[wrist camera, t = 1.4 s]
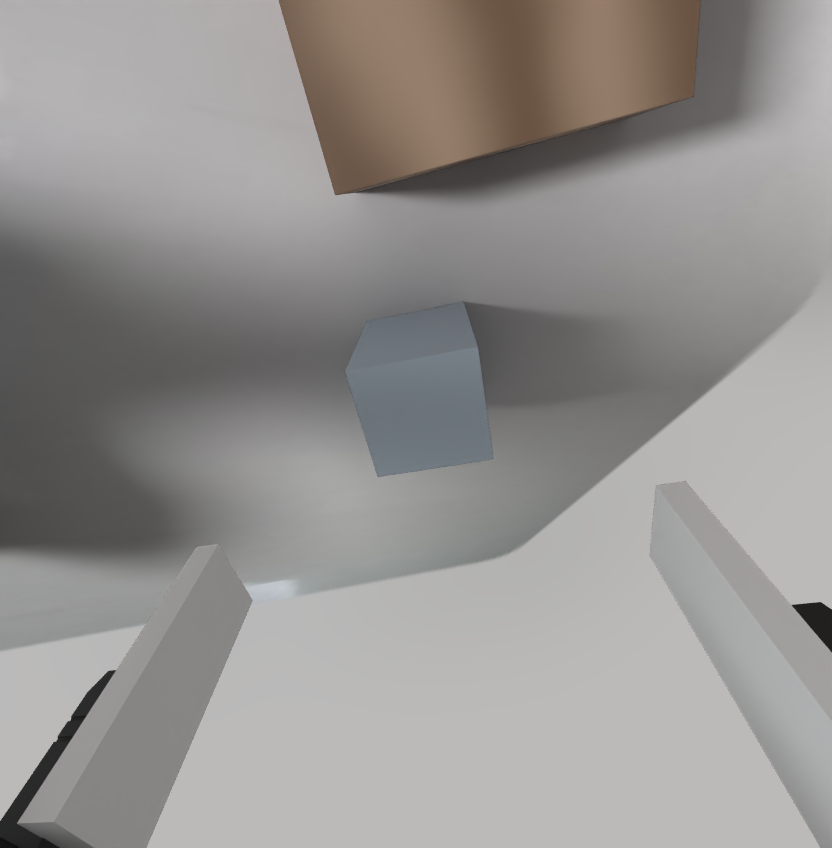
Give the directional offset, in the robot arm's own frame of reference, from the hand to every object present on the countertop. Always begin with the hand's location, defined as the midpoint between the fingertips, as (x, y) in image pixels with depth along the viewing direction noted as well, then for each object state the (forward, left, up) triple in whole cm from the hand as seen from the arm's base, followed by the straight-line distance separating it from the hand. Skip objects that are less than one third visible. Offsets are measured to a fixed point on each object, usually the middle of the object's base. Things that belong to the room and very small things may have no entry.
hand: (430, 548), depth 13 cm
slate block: (0, 0, -16) cm, 16 cm away
